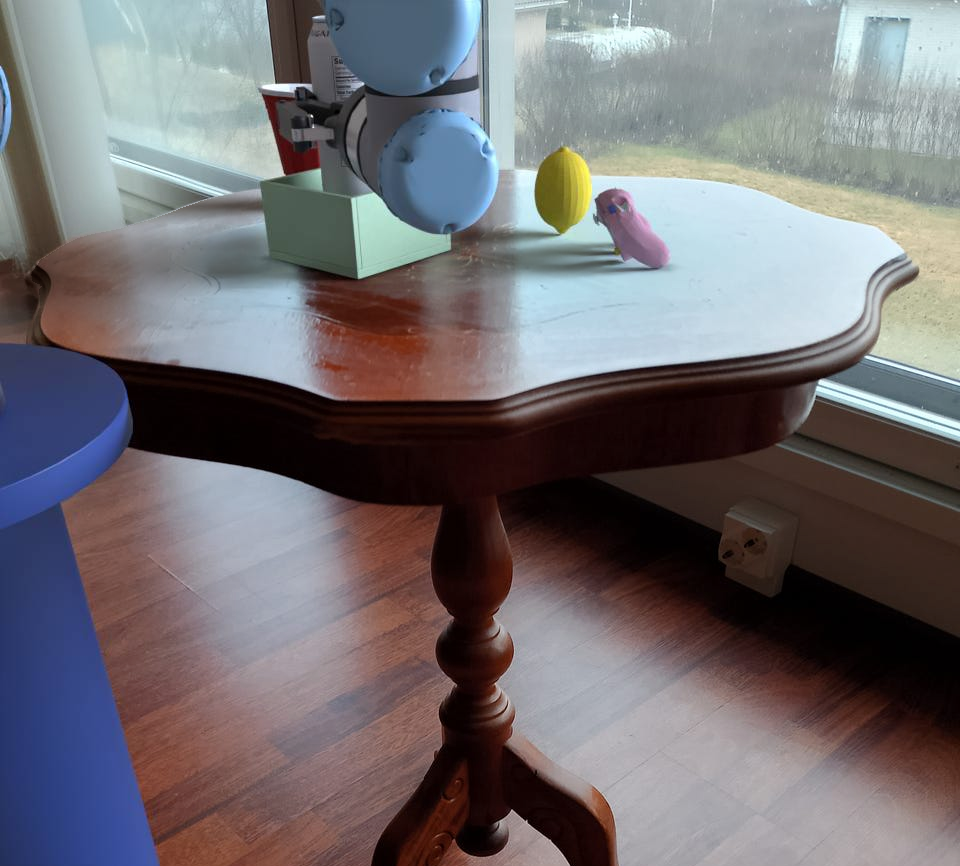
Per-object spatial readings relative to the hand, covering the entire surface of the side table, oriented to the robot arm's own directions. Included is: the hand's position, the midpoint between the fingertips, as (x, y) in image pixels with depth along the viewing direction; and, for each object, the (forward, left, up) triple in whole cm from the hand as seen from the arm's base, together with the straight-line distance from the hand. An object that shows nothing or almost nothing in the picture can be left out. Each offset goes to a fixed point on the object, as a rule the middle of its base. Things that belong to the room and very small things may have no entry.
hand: (338, 100), depth 99 cm
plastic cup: (+9, +15, -13) cm, 22 cm away
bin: (-3, -4, -13) cm, 14 cm away
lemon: (+14, -15, -13) cm, 25 cm away
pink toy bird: (+11, -25, -13) cm, 31 cm away
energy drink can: (-3, -4, -8) cm, 10 cm away
